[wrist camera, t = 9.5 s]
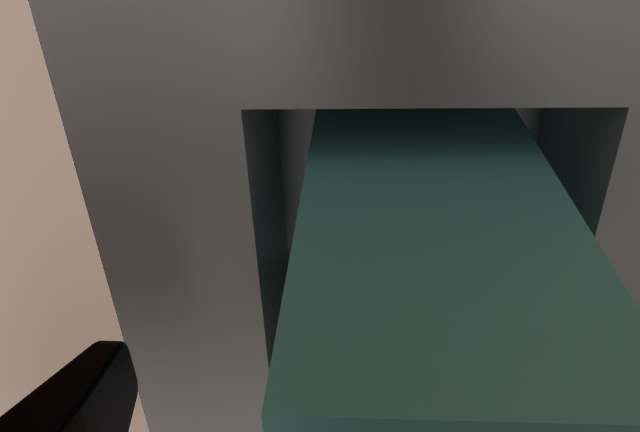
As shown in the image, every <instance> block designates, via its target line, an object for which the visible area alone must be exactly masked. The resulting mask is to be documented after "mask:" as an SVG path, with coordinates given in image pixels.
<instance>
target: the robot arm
mask: <svg viewBox="0 0 640 432" xmlns="http://www.w3.org/2000/svg"><path fill="white" fill-rule="evenodd" d="M137 393H138V380H137V376H136V372H135V369H134V365H133V361H132V358H131V354H130V351H129V348H128V346H127V344H126V343H125V342H122V341H98V342H96V343H94V344H92V345H91V346H90V347H88V348H87V349H86V350H85V351H83V352H82V353H81V354H80V355H78V356H77V357H76V358H74V359H73V360H72V361H71V362H69V363H68V364H67V365H66V366H64V367H63V368H62V369H60V370H59V371H58V372H57V373H56V374H54V375H53V376H52V377H50V378H49V379H48V380H47V381H45V382H44V383H43V384H42V385H40V386H39V387H38V388H36V389H35V390H34V391H33V392H31V393H30V394H29V395H27V396H26V397H25V398H24V399H22V400H21V401H20V402H19V403H17V404H16V405H15V406H13V407H12V408H11V409H10V410H8V411H7V412H6V413H5V414H3V415H2V416H1V417H0V432H128V431H129V427H130V423H131V419H132V415H133V410H134V406H135V402H136V398H137Z"/></svg>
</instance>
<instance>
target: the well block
mask: <svg viewBox="0 0 640 432" xmlns="http://www.w3.org/2000/svg"><path fill="white" fill-rule="evenodd" d="M28 1H29V5H30V8H31V11H32V15H33V19H34V22H35V26H36V29H37V33H38V37H39V40H40V44H41V47H42V51H43V54H44V58H45V62H46V65H47V69H48V72H49V76H50V79H51V83H52V86H53V90H54V94H55V97H56V101H57V104H58V108H59V111H60V115H61V118H62V122H63V125H64V129H65V133H66V136H67V140H68V143H69V147H70V150H71V154H72V157H73V161H74V165H75V168H76V172H77V175H78V179H79V182H80V186H81V189H82V193H83V196H84V200H85V204H86V207H87V211H88V214H89V218H90V221H91V225H92V228H93V232H94V235H95V239H96V243H97V246H98V250H99V253H100V257H101V260H102V264H103V268H104V271H105V274H106V278H107V282H108V285H109V289H110V292H111V296H112V299H113V303H114V306H115V310H116V314H117V317H118V321H119V324H120V328H121V331H122V335H123V338H124V342H125V343H126V344H127V346H128V348H129V351H130V354H131V358H132V361H133V365H134V369H135V372H136V376H137V380H138V391H139V395H140V399H141V402H142V406H143V410H144V413H145V417H146V420H147V423H148V427H149V431H150V432H263V427H262V419H261V413H262V407H263V402H264V396H265V391H266V385H267V380H268V374H269V368H270V363H271V357H272V352H273V346H274V341H275V335H276V330H277V324H278V319H279V313H280V307H281V302H282V296H283V291H284V285H285V280H286V274H287V269H288V263H289V258H290V252H291V246H292V241H293V235H294V230H295V224H296V219H297V213H298V208H299V202H300V197H301V191H302V186H303V180H304V174H305V169H306V163H307V158H308V152H309V147H310V141H311V136H312V130H313V125H314V119H315V113H316V109H416V108H515V109H516V111H517V112H518V114H519V116H520V117H521V119H522V120H523V122H524V124H525V125H526V127H527V129H528V130H529V132H530V133H531V135H532V137H533V138H534V140H535V141H536V143H537V145H538V146H539V148H540V150H541V151H542V153H543V154H544V156H545V158H546V159H547V161H548V162H549V164H550V166H551V167H552V169H553V171H554V172H555V174H556V175H557V177H558V179H559V180H560V182H561V183H562V185H563V187H564V188H565V190H566V191H567V193H568V195H569V196H570V198H571V200H572V201H573V203H574V204H575V206H576V208H577V209H578V211H579V212H580V214H581V216H582V217H583V219H584V221H585V222H586V224H587V225H588V227H589V229H590V230H591V232H592V233H593V235H594V237H595V238H596V240H597V242H598V243H599V245H600V246H601V248H602V250H603V251H604V253H605V254H606V256H607V258H608V259H609V261H610V262H611V264H612V266H613V267H614V269H615V271H616V272H617V274H618V275H619V277H620V279H621V280H622V282H623V283H624V285H625V287H626V288H627V290H628V292H629V293H630V295H631V296H632V298H633V300H634V301H635V303H636V304H637V306H638V308H639V309H640V0H28Z"/></svg>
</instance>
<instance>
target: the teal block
mask: <svg viewBox="0 0 640 432" xmlns="http://www.w3.org/2000/svg"><path fill="white" fill-rule="evenodd" d="M261 419H262V427H263V432H640V309H639V308H638V306H637V304H636V303H635V301H634V300H633V298H632V296H631V295H630V293H629V292H628V290H627V288H626V287H625V285H624V283H623V282H622V280H621V279H620V277H619V275H618V274H617V272H616V271H615V269H614V267H613V266H612V264H611V262H610V261H609V259H608V258H607V256H606V254H605V253H604V251H603V250H602V248H601V246H600V245H599V243H598V242H597V240H596V238H595V237H594V235H593V233H592V232H591V230H590V229H589V227H588V225H587V224H586V222H585V221H584V219H583V217H582V216H581V214H580V212H579V211H578V209H577V208H576V206H575V204H574V203H573V201H572V200H571V198H570V196H569V195H568V193H567V191H566V190H565V188H564V187H563V185H562V183H561V182H560V180H559V179H558V177H557V175H556V174H555V172H554V171H553V169H552V167H551V166H550V164H549V162H548V161H547V159H546V158H545V156H544V154H543V153H542V151H541V150H540V148H539V146H538V145H537V143H536V141H535V140H534V138H533V137H532V135H531V133H530V132H529V130H528V129H527V127H526V125H525V124H524V122H523V120H522V119H521V117H520V116H519V114H518V112H517V111H516V109H515V108H416V109H316V113H315V119H314V125H313V130H312V136H311V141H310V147H309V152H308V158H307V163H306V169H305V174H304V180H303V186H302V191H301V197H300V202H299V208H298V213H297V219H296V224H295V230H294V235H293V241H292V246H291V252H290V258H289V263H288V269H287V274H286V280H285V285H284V291H283V296H282V302H281V307H280V313H279V319H278V324H277V330H276V335H275V341H274V346H273V352H272V357H271V363H270V368H269V374H268V380H267V385H266V391H265V396H264V402H263V407H262V413H261Z"/></svg>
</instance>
